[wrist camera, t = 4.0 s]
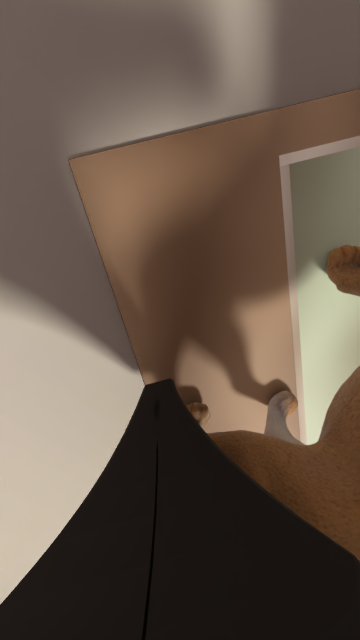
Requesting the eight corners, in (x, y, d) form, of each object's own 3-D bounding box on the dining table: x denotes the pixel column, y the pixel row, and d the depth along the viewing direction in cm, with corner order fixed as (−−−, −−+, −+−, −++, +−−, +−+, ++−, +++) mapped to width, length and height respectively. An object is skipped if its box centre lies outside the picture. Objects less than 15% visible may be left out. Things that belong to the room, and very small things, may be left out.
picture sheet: (646, 19, 8) (649, 18, 8) (519, 403, 14) (521, 404, 14) (69, 160, 8) (68, 159, 8) (183, 496, 13) (183, 497, 13)
